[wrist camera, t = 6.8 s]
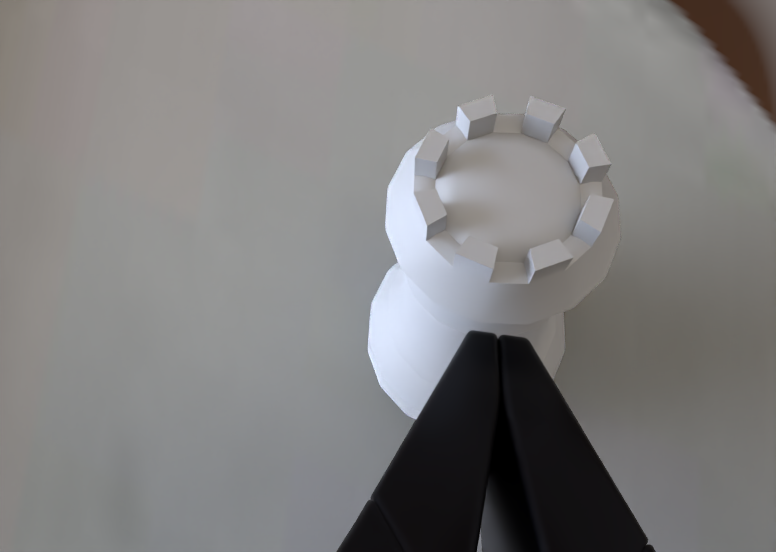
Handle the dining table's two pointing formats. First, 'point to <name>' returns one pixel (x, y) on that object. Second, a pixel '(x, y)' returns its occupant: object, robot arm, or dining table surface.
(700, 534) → the dining table surface
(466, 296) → the rook chess piece
